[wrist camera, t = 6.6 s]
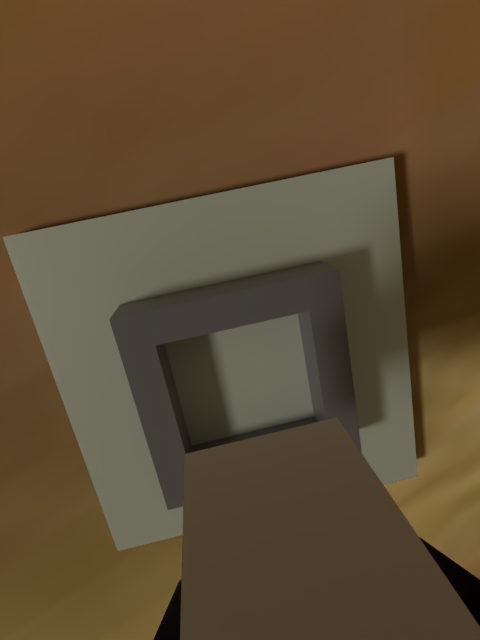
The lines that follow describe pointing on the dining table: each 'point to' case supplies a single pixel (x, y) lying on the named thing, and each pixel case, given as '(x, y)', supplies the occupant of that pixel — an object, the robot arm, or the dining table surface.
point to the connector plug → (305, 547)
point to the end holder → (224, 331)
